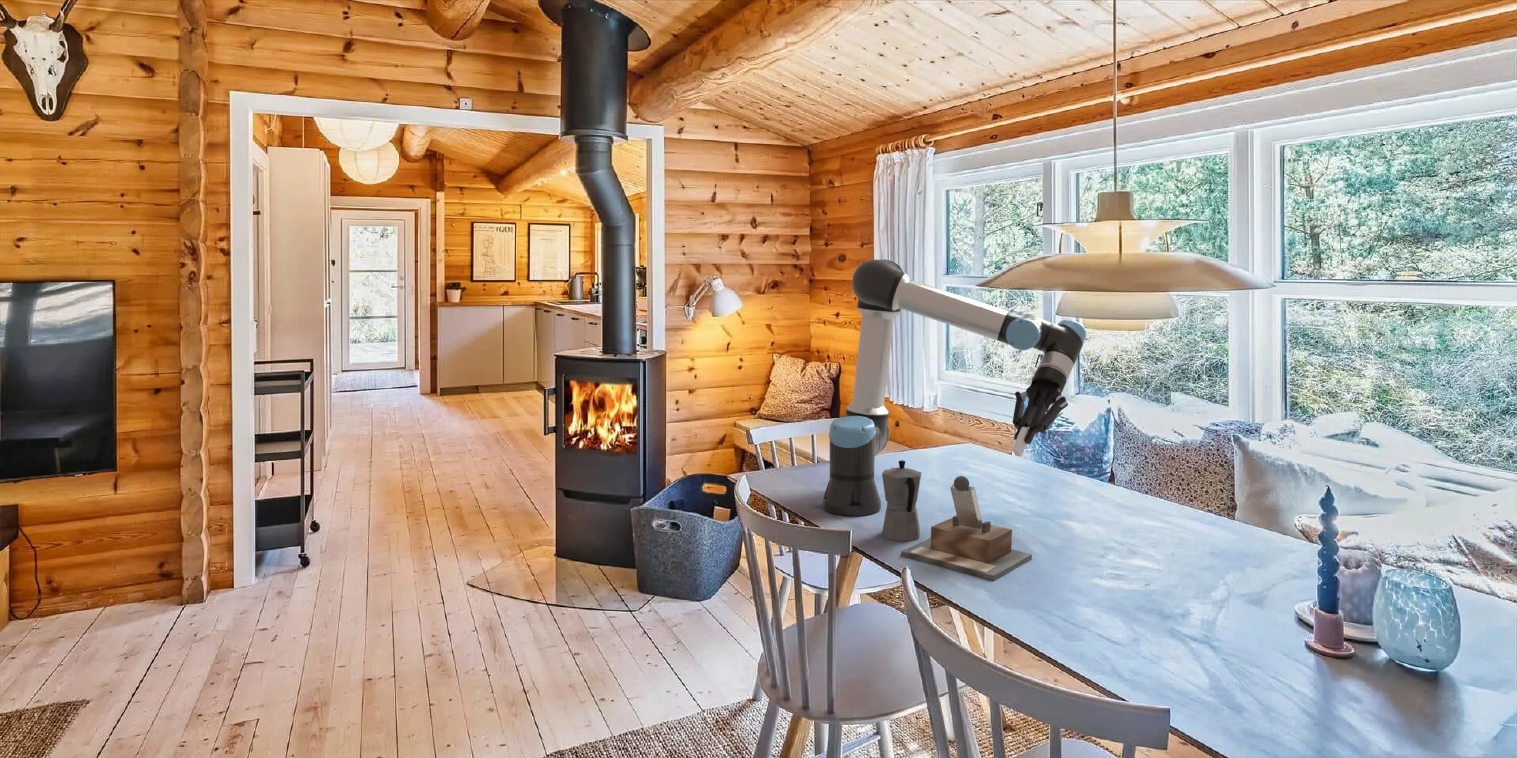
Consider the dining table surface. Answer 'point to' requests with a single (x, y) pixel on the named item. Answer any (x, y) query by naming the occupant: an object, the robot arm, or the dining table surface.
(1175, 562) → the dining table surface
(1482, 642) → the dining table surface
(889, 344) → the robot arm
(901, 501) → the coffeepot
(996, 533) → the switch unit
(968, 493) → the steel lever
